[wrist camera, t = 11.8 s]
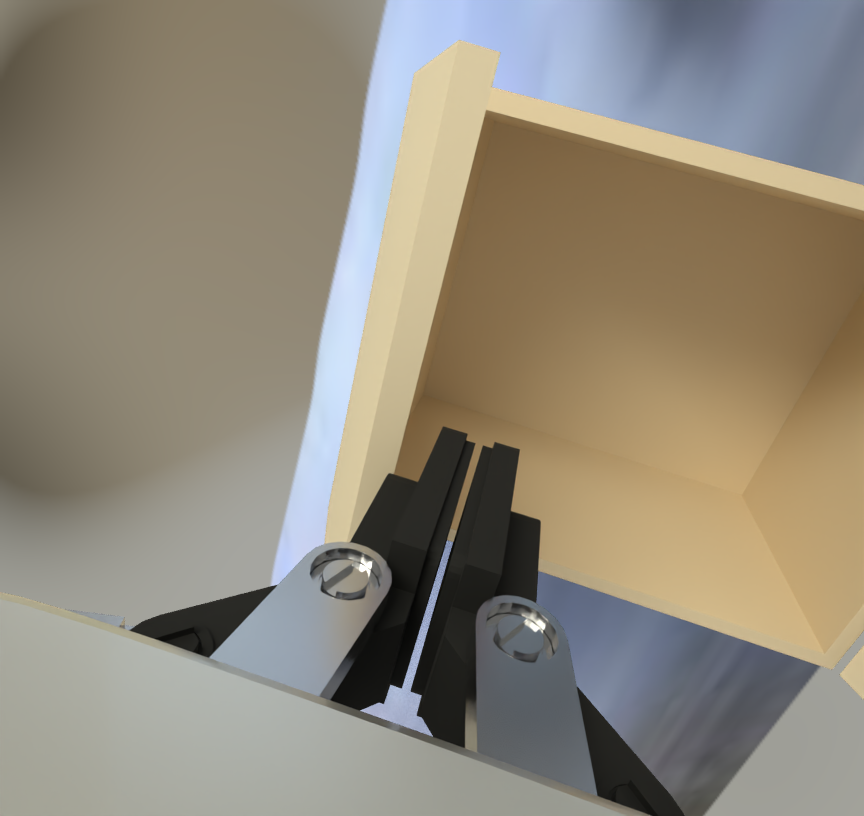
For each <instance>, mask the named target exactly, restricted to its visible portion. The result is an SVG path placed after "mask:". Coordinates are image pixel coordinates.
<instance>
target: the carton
mask: <svg viewBox="0 0 864 816" xmlns="http://www.w3.org/2000/svg"><path fill="white" fill-rule="evenodd" d="M443 426H444V427H447V428H451V429H454V430H457V431H460V432H464V433H467V434H468V435H467V439H466V440H467V441H470V442H473V443H476V444H475V447H474V451H473V454H472V457H471V461H470V464H469V467H468V471H467V474H466V478H465V481H464V484H463V488H462V491H461V494H460V498H459V501H458V504H457V508H456V511H455V515H454V518H453V521H452V525H451V528H450V531H449V535H448V538H447V540H449V541H452V542H454V539H455V535H456V532H457V529H458V525H459V522H460V519H461V516H462V512H463V509H464V506H465V502H466V499H467V496H468V492H469V489H470V486H471V483H472V479H473V476H474V473H475V469H476V466H477V463H478V460H479V456H480V453H481V450H482V447H483V445H484V446H487V447H490V448H493V445H494V442H497V443H500V444H504V445H507V446H510V447H514V448H517V449H520V453H519V460H518V466H517V473H516V480H515V487H514V493H513V500H512V507H511V511H513V512H516V513H519V514H523V515H526V516H529V517H532V518H535V519H539V520H540V521H541V532H540V549H539V565H538V571H541V572H544V573H546V574H549V575H552V576H555V577H558V578H561V579H564V580H567V581H570V582H573V583H576V584H579V585H582V586H585V587H588V588H591V589H594V590H597V591H600V592H603V593H606V594H609V595H612V596H615V597H618V598H621V599H624V600H626V601H629V602H632V603H635V604H638V605H641V606H644V607H647V608H650V609H653V610H656V611H659V612H662V613H665V614H668V615H671V616H674V617H677V618H680V619H683V620H686V621H689V622H692V623H695V624H698V625H701V626H704V627H706V628H709V629H712V630H715V631H718V632H721V633H724V634H727V635H730V636H733V637H736V638H739V639H742V640H745V641H748V642H751V643H754V644H757V645H760V646H763V647H766V648H769V649H772V650H775V651H778V652H781V653H784V654H786V655H789V656H792V657H795V658H798V659H801V660H804V661H807V662H810V663H813V664H816V665H819V666H822V667H825V668H828V669H831V670H832V669H833V668H834V667H835V666H836V664H837V663H838V662H839V661H840V659H841V658H842V657H843V656H844V654H845V653H846V652H847V651H848V649H849V648H850V647H851V646H852V645H853V643H854V642H855V641H856V640H857V638H858V637H859V636H860V634H861V633H862V632H863V631H864V185H861V184H857V183H853V182H849V181H846V180H842V179H838V178H834V177H830V176H827V175H823V174H819V173H815V172H811V171H808V170H804V169H800V168H796V167H793V166H789V165H785V164H781V163H777V162H774V161H770V160H766V159H762V158H758V157H755V156H751V155H747V154H743V153H740V152H736V151H732V150H728V149H724V148H721V147H717V146H713V145H709V144H705V143H702V142H698V141H694V140H690V139H687V138H683V137H679V136H675V135H671V134H668V133H664V132H660V131H656V130H652V129H649V128H645V127H641V126H637V125H634V124H630V123H626V122H622V121H618V120H615V119H611V118H607V117H603V116H599V115H596V114H592V113H588V112H584V111H581V110H577V109H573V108H569V107H565V106H562V105H558V104H554V103H550V102H546V101H543V100H539V99H535V98H531V97H528V96H524V95H520V94H516V93H512V92H509V91H505V90H501V89H497V88H493V87H492V88H491V92H490V96H489V100H488V104H487V108H486V112H485V116H484V120H483V124H482V128H481V132H480V136H479V140H478V143H477V147H476V151H475V155H474V159H473V163H472V167H471V171H470V175H469V179H468V183H467V187H466V191H465V195H464V199H463V203H462V207H461V211H460V215H459V219H458V223H457V227H456V230H455V234H454V238H453V242H452V246H451V250H450V254H449V258H448V262H447V266H446V270H445V274H444V278H443V282H442V286H441V290H440V294H439V298H438V302H437V306H436V310H435V313H434V317H433V321H432V325H431V329H430V333H429V337H428V341H427V345H426V349H425V353H424V357H423V361H422V365H421V369H420V373H419V377H418V381H417V385H416V389H415V393H414V396H413V400H412V404H411V408H410V412H409V416H408V420H407V424H406V428H405V432H404V436H403V440H402V444H401V448H400V452H399V456H398V460H397V464H396V468H395V472H394V474H395V475H398V476H401V477H404V478H407V479H411V480H414V481H417V482H418V481H419V479H420V476H421V474H422V472H423V470H424V467H425V465H426V463H427V461H428V459H429V456H430V454H431V452H432V450H433V447H434V445H435V443H436V441H437V438H438V436H439V434H440V432H441V430H442V427H443Z"/></svg>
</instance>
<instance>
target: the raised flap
mask: <svg viewBox="0 0 864 816" xmlns="http://www.w3.org/2000/svg"><path fill="white" fill-rule="evenodd" d="M840 676H841V677H842V678H843V679H844V680H845V681H846V682H847V683H848V684H849V685H850V686H851V687H852V688H853V690H854V691H855V692H856V693H857V694H858V695H859V696H860V697H861V698H863V700H864V645H863V647H862V648H861V649H860V650H859V652H858V653H857V654H856V655H855V656H854V658H853V659H852V660H851V661H850V662H849V664H848V665H847V666H846V667H845V669H844V670H843V671H842V672H841V674H840Z"/></svg>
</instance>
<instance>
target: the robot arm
mask: <svg viewBox="0 0 864 816" xmlns="http://www.w3.org/2000/svg"><path fill="white" fill-rule="evenodd" d="M467 435H468V434H467V433H464V432H460V431H457V430H454V429H451V428H447V427H444V426H443V427H442V430H441V432H440V434H439V436H438V438H437V441H436V443H435V445H434V447H433V450H432V452H431V454H430V456H429V459H428V461H427V463H426V465H425V467H424V470H423V472H422V474H421V476H420V479H419V481H418V482H417V481H414V480H411V479H407V478H404V477H401V476H398V475H395V474H391V473H389V474H388V475H387V476H386V478H385V480H384V482H383V483H382V485H381V487H380V489H379V491H378V492H377V494H376V496H375V498H374V499H373V501H372V503H371V505H370V507H369V508H368V510H367V512H366V514H365V516H364V517H363V519H362V521H361V523H360V525H359V526H358V528H357V530H356V532H355V534H354V535H353V537H352V539H351V541H350V542H333V543H327V544H324V545H321V546H319V547H316V548H315V549H313V550H312V551H311V552H309V553H308V554H307V555H306V556H305V557H304V558H303V559H302V560H301V561H300V562H299V563H298V564H297V565H296V566H295V567H294V568H293V569H292V571H291V572H290V573H289V574H288V575H287V576H286V577H285V578H284V579H283V580H282V581H281V582H280V583H279V584H278V585H275V586H271V587H267V588H263V589H260V590H256V591H251V592H248V593H244V594H240V595H236V596H232V597H228V598H225V599H220V600H216V601H213V602H209V603H205V604H201V605H197V606H193V607H189V608H186V609H182V610H178V611H174V612H170V613H166V614H162V615H159V616H156V617H153V618H151V619H148V620H145V621H143V622H141V623H140V624H138V625H136V626H135V627H134V626H127V625H125V618H124V617H120V616H112V615H104V614H97V613H89V612H82V611H74V610H66V609H61V608H58V607H54V606H51V605H47V604H44V603H41V602H37V601H33V600H30V599H27V598H23V597H20V596H16V595H11V594H6V593H2V592H0V816H684V814H683V812H682V810H681V809H680V808H679V806H678V805H677V803H676V802H675V801H674V799H673V798H672V796H671V795H670V794H669V793H668V791H667V790H666V789H665V788H664V787H663V786H662V785H661V783H660V782H659V781H658V780H657V779H656V778H655V776H654V775H653V774H652V773H651V772H650V771H649V769H648V768H647V767H646V766H645V765H644V764H643V762H642V761H641V760H640V759H639V758H638V757H637V755H636V754H635V753H634V752H633V751H632V750H631V749H630V747H629V746H628V745H627V744H626V743H625V742H624V740H623V739H622V738H621V737H620V736H619V735H618V733H617V732H616V731H615V730H614V729H613V728H612V726H611V725H610V724H609V723H608V722H607V721H606V719H605V718H604V717H603V716H602V715H601V714H600V713H599V711H598V710H597V709H596V708H595V707H594V706H593V704H592V703H591V702H590V701H589V700H588V699H587V697H586V696H585V695H584V694H583V693H582V692H581V690H580V689H579V688H578V687H577V686H576V681H575V675H574V670H573V665H572V660H571V655H570V649H569V644H568V640H567V637H566V634H565V632H564V629H563V628H562V626H561V625H560V623H559V622H558V621H557V619H556V618H555V617H554V616H553V615H552V614H551V613H549V612H548V611H547V610H546V609H545V608H543V607H542V606H540V605H538V604H536V598H537V582H538V565H539V549H540V532H541V521H540V520H539V519H535V518H532V517H529V516H526V515H523V514H519V513H516V512H513V511H511V507H512V500H513V493H514V487H515V480H516V473H517V466H518V460H519V453H520V449H517V448H514V447H510V446H507V445H504V444H500V443H497V442H494V445H493V448H490V447H487V446H484V445H483V447H482V450H481V453H480V456H479V460H478V463H477V466H476V469H475V473H474V476H473V479H472V483H471V486H470V489H469V492H468V496H467V499H466V502H465V506H464V509H463V512H462V516H461V519H460V522H459V525H458V529H457V532H456V535H455V539H454V542H453V545H452V548H451V552H450V555H449V559H448V562H447V565H446V569H445V572H444V576H443V579H442V583H441V586H440V590H439V593H438V597H437V600H436V604H435V607H434V611H433V614H432V618H431V621H430V625H429V628H428V632H427V635H426V639H425V642H424V646H423V649H422V653H421V656H420V660H419V663H418V667H417V670H416V674H415V677H414V681H413V684H412V688H411V692H414V693H416V694H419V695H422V697H421V701H420V704H419V708H418V712H417V716H419V717H422V718H423V720H424V722H425V723H426V725H427V727H428V728H429V730H430V732H431V733H432V735H433V737H432V736H429V735H426V734H423V733H420V732H418V731H415V730H412V729H409V728H406V727H404V726H401V725H398V724H395V723H392V722H390V721H387V720H384V719H381V718H378V717H375V716H373V715H370V714H367V713H364V712H361V711H360V710H362V709H365V708H367V707H369V706H372V705H374V704H376V703H382V704H384V702H385V699H386V696H387V693H388V690H389V687H390V685H393V686H396V687H399V688H402V686H403V683H404V679H405V676H406V673H407V670H408V666H409V663H410V660H411V656H412V653H413V650H414V647H415V643H416V640H417V637H418V634H419V630H420V627H421V624H422V620H423V617H424V614H425V611H426V607H427V604H428V601H429V597H430V594H431V591H432V588H433V584H434V581H435V578H436V575H437V571H438V568H439V565H440V561H441V558H442V555H443V552H444V548H445V545H446V541H447V538H448V535H449V531H450V528H451V525H452V521H453V518H454V515H455V511H456V508H457V504H458V501H459V498H460V494H461V491H462V488H463V484H464V481H465V478H466V474H467V471H468V467H469V464H470V461H471V457H472V454H473V451H474V447H475V444H476V443H473V442H470V441H467V440H466V439H467Z"/></svg>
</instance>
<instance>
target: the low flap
mask: <svg viewBox="0 0 864 816" xmlns="http://www.w3.org/2000/svg"><path fill="white" fill-rule="evenodd" d="M500 53H501V52H497V51H494V50H491V49H488V48H484V47H481V46H478V45H474V44H471V43H468V42H464V41H461V40H458V41H457V42H456V43H454V44H453V45H452V46H450V47H449V48H448V49H446V50H445V51H443V52H442V53H441V54H439V55H438V56H437V57H435V58H434V59H433V60H431V61H430V62H429V63H427V64H426V65H425V66H423V67H422V68H421V69H419V70H418V71H417V72H415V73H414V77H413V82H412V87H411V92H410V97H409V102H408V107H407V112H406V117H405V122H404V127H403V132H402V137H401V142H400V147H399V152H398V157H397V162H396V168H395V173H394V178H393V183H392V188H391V193H390V198H389V203H388V208H387V213H386V218H385V223H384V228H383V233H382V238H381V243H380V248H379V253H378V258H377V264H376V269H375V274H374V279H373V284H372V289H371V294H370V299H369V304H368V309H367V314H366V319H365V324H364V329H363V334H362V339H361V344H360V349H359V355H358V360H357V365H356V370H355V375H354V380H353V385H352V390H351V395H350V400H349V405H348V410H347V415H346V420H345V425H344V430H343V435H342V440H341V445H340V451H339V456H338V461H337V466H336V471H335V476H334V481H333V486H332V491H331V496H330V501H329V507H328V516H327V525H326V534H325V543H324V544H327V543H333V542H350V541H351V539H352V537H353V535H354V534H355V532H356V530H357V528H358V526H359V525H360V523H361V521H362V519H363V517H364V516H365V514H366V512H367V510H368V508H369V507H370V505H371V503H372V501H373V499H374V498H375V496H376V494H377V492H378V491H379V489H380V487H381V485H382V483H383V482H384V480H385V478H386V476H387V475H388V474H389V473H391V474H394V472H395V468H396V464H397V460H398V456H399V452H400V448H401V444H402V440H403V436H404V432H405V428H406V424H407V420H408V416H409V412H410V408H411V404H412V400H413V396H414V393H415V389H416V385H417V381H418V377H419V373H420V369H421V365H422V361H423V357H424V353H425V349H426V345H427V341H428V337H429V333H430V329H431V325H432V321H433V317H434V313H435V310H436V306H437V302H438V298H439V294H440V290H441V286H442V282H443V278H444V274H445V270H446V266H447V262H448V258H449V254H450V250H451V246H452V242H453V238H454V234H455V230H456V227H457V223H458V219H459V215H460V211H461V207H462V203H463V199H464V195H465V191H466V187H467V183H468V179H469V175H470V171H471V167H472V163H473V159H474V155H475V151H476V147H477V143H478V140H479V136H480V132H481V128H482V124H483V120H484V116H485V112H486V108H487V104H488V100H489V96H490V92H491V88H492V84H493V80H494V76H495V72H496V68H497V64H498V60H499V57H500Z"/></svg>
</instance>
